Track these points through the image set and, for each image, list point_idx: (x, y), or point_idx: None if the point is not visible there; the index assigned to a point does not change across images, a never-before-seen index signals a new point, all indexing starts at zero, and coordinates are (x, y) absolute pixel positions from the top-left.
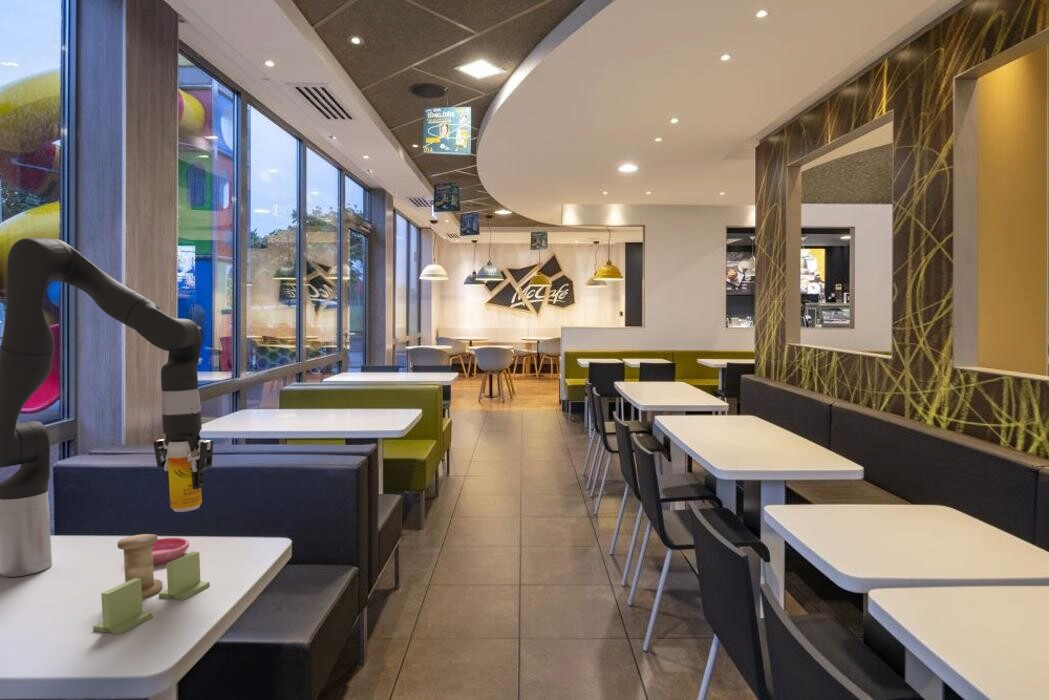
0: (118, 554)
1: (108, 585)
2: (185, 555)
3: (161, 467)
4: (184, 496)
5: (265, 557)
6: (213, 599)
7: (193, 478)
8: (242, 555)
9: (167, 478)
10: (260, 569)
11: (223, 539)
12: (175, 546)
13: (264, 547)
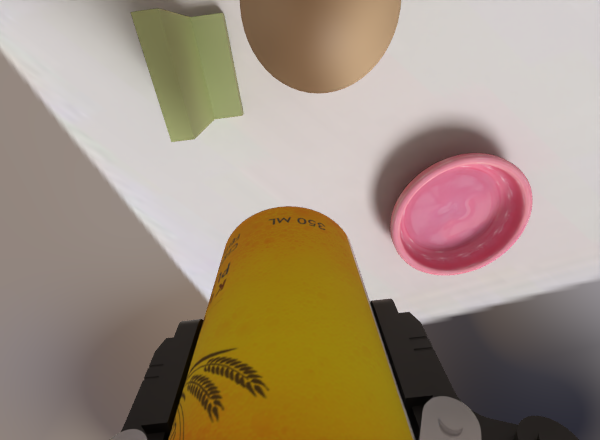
0: (572, 190)
1: (437, 23)
2: (179, 99)
3: (522, 427)
4: (229, 260)
5: (214, 280)
6: (77, 60)
7: (172, 376)
8: None
9: (409, 343)
10: (161, 233)
11: None
12: (448, 254)
13: None
